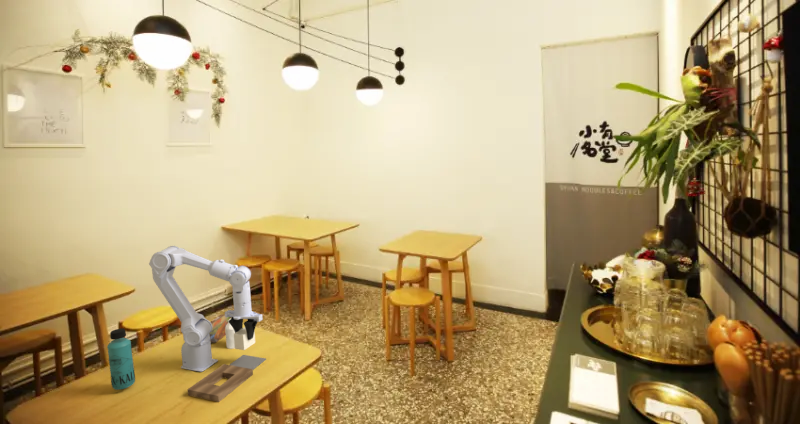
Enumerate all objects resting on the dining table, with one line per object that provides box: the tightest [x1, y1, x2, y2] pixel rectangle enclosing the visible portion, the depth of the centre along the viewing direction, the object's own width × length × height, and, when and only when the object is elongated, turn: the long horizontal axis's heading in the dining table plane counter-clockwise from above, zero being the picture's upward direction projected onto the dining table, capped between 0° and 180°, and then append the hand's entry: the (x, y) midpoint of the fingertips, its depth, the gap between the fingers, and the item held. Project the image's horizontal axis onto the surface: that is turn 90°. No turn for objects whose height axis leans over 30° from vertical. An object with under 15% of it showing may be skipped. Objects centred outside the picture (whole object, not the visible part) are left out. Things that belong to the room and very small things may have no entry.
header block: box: [186, 363, 254, 403], centre depth 134 cm, size 12×16×2 cm
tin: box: [209, 314, 231, 344], centre depth 168 cm, size 15×3×8 cm, turn 168°
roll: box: [225, 318, 235, 350], centre depth 161 cm, size 6×12×6 cm
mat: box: [229, 354, 267, 370], centre depth 148 cm, size 10×8×1 cm
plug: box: [234, 326, 256, 351], centre depth 146 cm, size 4×6×6 cm, turn 162°
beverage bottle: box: [107, 328, 136, 391], centre depth 132 cm, size 6×7×20 cm
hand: (245, 337), depth 146 cm, fingers closed on plug, 4 cm apart
